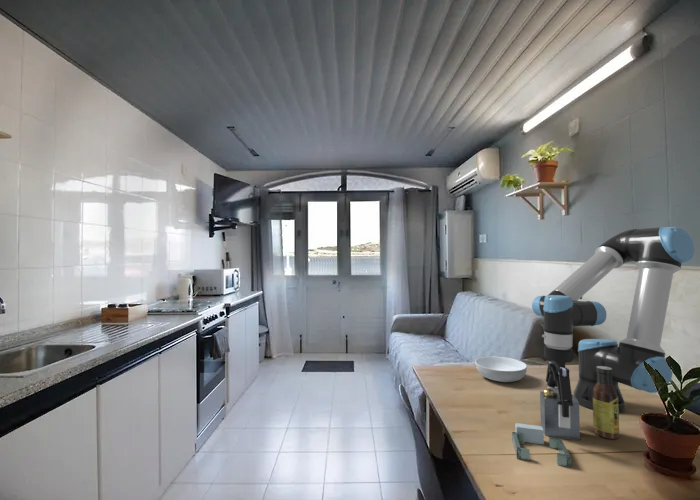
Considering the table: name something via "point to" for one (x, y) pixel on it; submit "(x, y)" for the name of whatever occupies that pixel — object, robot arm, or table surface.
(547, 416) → the grey box with knob
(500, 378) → the serving bowl
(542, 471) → the table surface
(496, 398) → the table surface
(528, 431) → the light grey rectangular block
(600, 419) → the sauce bottle
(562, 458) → the socket
